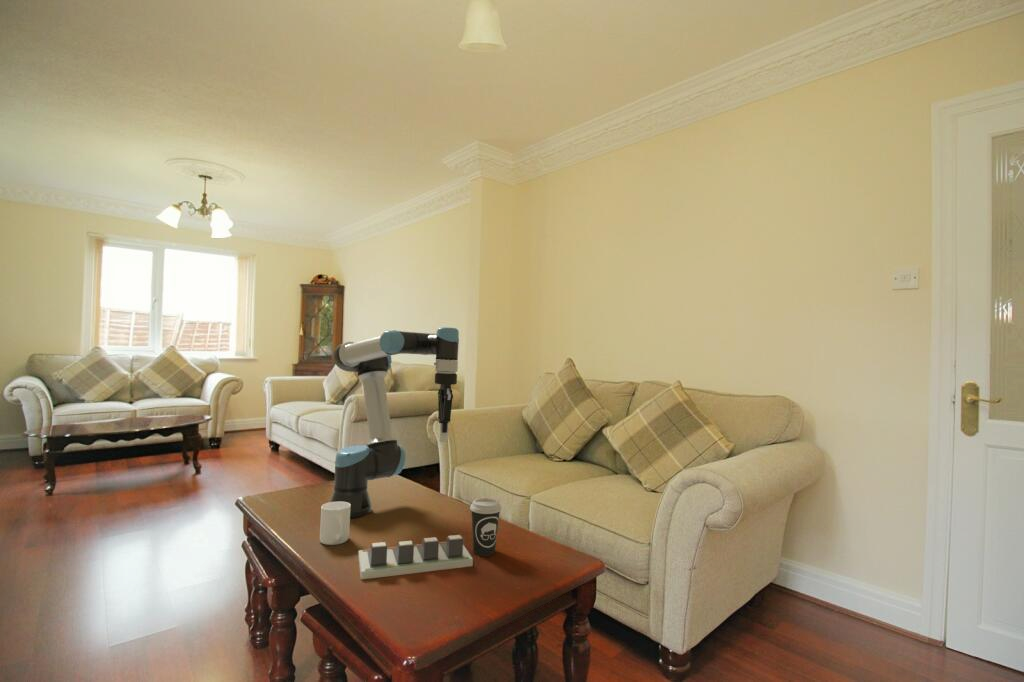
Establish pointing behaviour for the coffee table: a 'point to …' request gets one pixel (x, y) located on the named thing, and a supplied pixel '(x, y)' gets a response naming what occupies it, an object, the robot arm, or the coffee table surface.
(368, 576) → the panel
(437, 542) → the block
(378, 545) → the block
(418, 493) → the coffee table surface
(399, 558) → the block
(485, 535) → the coffee cup
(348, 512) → the mug
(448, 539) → the block
